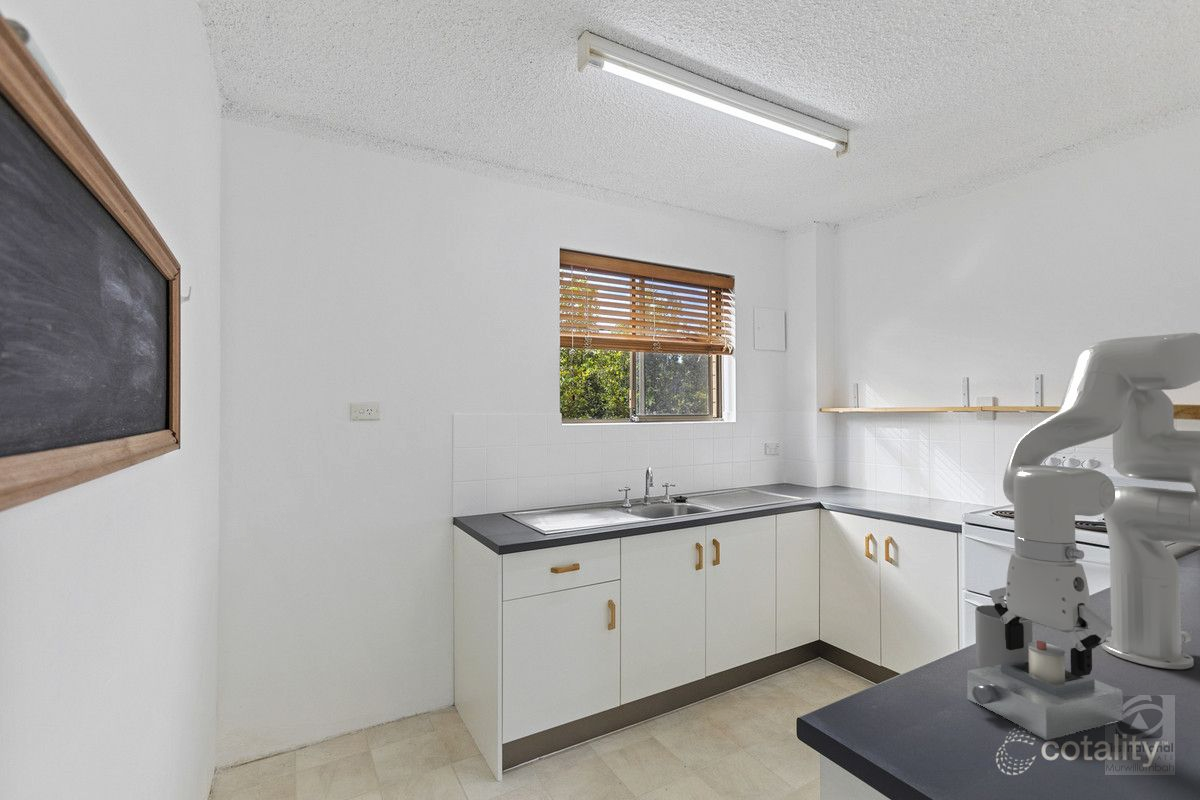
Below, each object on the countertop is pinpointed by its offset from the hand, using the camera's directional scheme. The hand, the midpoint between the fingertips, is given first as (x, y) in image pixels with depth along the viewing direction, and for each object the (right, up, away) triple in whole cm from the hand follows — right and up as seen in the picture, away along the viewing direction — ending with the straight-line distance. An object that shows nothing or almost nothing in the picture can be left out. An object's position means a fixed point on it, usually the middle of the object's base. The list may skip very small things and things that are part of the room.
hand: (1046, 661), depth 88 cm
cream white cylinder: (0, -6, 0) cm, 6 cm away
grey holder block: (-2, -7, -1) cm, 8 cm away
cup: (+3, -8, +13) cm, 16 cm away
